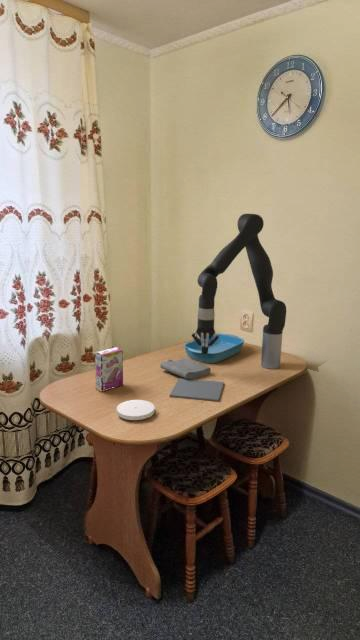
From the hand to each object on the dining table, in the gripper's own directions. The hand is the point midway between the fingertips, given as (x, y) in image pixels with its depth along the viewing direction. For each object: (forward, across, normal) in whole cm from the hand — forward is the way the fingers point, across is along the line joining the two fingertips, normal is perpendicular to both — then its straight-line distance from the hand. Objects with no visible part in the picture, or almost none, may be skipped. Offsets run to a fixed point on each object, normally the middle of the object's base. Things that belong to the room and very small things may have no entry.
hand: (204, 354), depth 199 cm
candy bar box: (+10, +37, +25) cm, 46 cm away
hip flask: (+8, +2, +6) cm, 10 cm away
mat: (+10, 0, +19) cm, 22 cm away
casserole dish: (+10, -1, -30) cm, 31 cm away
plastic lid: (+11, +19, +46) cm, 51 cm away
